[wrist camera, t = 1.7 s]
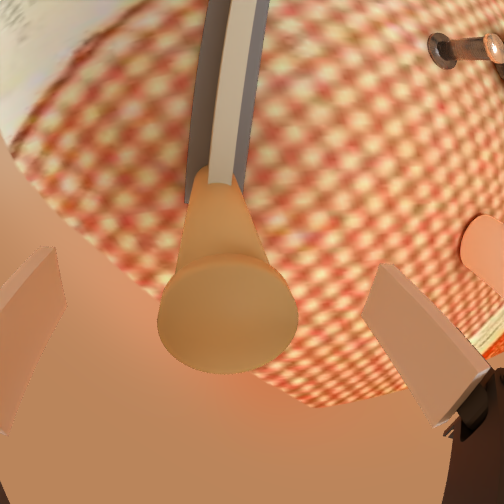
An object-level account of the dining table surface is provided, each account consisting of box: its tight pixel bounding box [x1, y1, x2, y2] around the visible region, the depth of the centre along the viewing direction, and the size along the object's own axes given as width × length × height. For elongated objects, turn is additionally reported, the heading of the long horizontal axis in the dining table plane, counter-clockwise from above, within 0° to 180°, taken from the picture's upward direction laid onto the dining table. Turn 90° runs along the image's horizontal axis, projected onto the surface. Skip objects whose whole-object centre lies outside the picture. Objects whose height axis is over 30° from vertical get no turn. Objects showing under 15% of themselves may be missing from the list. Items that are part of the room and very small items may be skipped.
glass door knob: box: [428, 33, 504, 69], centre depth 17 cm, size 4×4×9 cm
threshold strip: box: [184, 0, 270, 204], centre depth 20 cm, size 24×5×1 cm, turn 173°
